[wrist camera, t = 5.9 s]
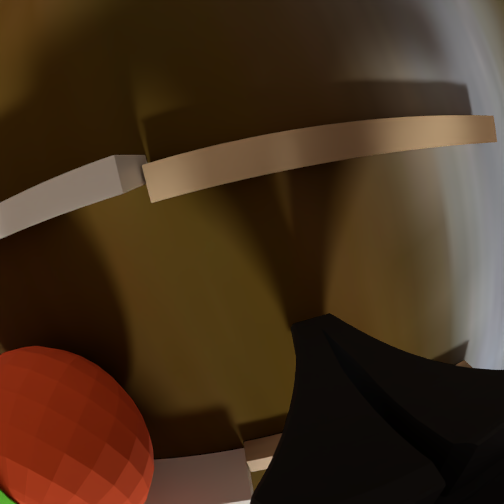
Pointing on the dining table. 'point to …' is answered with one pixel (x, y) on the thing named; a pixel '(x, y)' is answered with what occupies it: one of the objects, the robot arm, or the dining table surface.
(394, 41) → the dining table surface
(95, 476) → the clementine
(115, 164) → the white arch
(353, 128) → the lane rails
